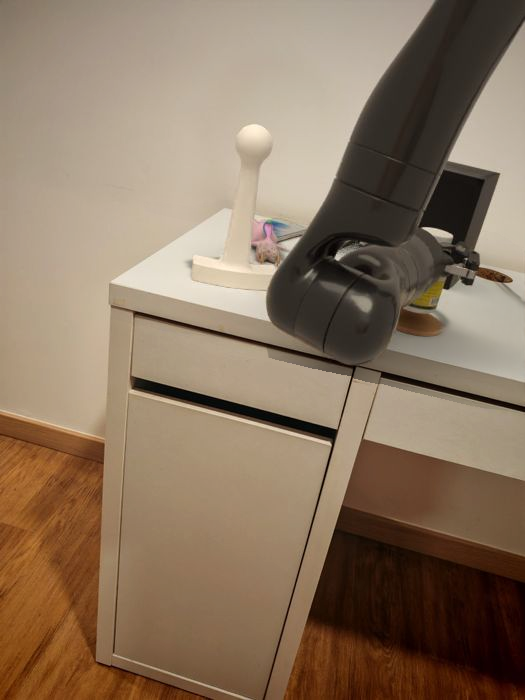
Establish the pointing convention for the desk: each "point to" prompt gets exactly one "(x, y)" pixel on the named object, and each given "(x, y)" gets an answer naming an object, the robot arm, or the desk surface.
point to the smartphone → (286, 228)
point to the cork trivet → (418, 323)
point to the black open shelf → (459, 205)
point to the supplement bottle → (432, 296)
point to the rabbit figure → (266, 242)
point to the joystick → (241, 222)
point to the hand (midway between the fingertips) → (437, 243)
